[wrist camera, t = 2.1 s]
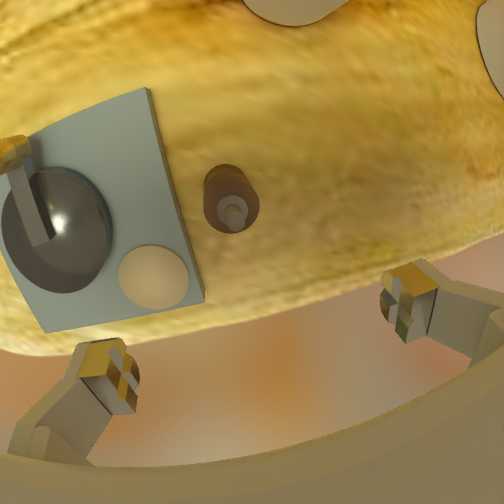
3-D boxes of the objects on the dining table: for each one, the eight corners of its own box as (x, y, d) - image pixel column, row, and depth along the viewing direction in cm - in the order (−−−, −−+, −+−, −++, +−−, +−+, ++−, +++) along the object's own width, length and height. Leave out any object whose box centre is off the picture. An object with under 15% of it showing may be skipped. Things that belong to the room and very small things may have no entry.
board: (150, 89, 19) (143, 86, 17) (204, 289, 27) (205, 305, 25) (-16, 166, 18) (-30, 172, 16) (51, 321, 26) (44, 335, 24)
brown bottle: (241, 160, 23) (262, 185, 15) (250, 200, 24) (273, 245, 16) (199, 169, 22) (196, 200, 15) (209, 209, 24) (212, 259, 16)
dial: (80, 107, 17) (21, 110, 10) (130, 267, 23) (105, 331, 16) (-11, 156, 16) (-72, 182, 9) (41, 290, 22) (4, 346, 15)
